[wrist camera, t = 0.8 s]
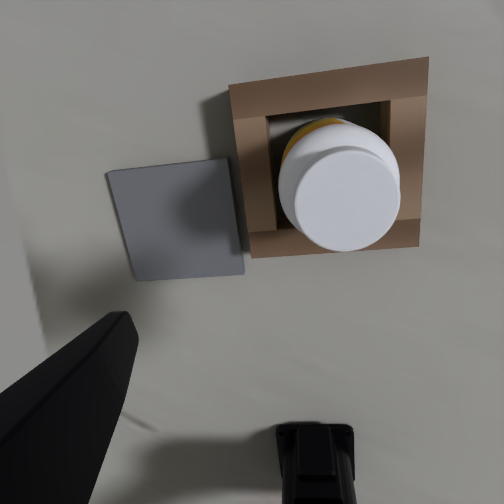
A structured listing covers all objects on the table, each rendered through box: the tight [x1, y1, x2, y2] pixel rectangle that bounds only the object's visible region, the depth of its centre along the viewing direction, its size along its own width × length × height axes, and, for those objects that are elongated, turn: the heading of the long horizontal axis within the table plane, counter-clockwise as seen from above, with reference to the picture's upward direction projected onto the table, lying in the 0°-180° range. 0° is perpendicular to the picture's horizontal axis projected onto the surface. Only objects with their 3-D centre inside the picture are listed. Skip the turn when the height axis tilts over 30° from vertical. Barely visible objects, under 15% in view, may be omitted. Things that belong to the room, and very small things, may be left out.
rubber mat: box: [107, 157, 245, 281], centre depth 25 cm, size 8×8×1 cm
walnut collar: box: [228, 57, 429, 258], centre depth 21 cm, size 10×10×2 cm
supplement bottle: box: [278, 118, 400, 252], centre depth 18 cm, size 5×5×10 cm
